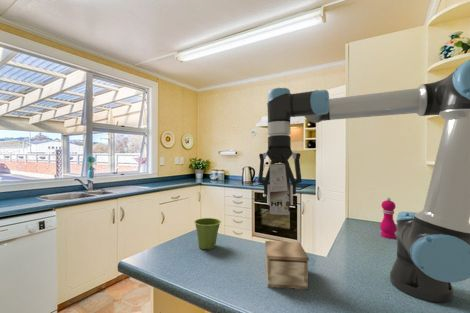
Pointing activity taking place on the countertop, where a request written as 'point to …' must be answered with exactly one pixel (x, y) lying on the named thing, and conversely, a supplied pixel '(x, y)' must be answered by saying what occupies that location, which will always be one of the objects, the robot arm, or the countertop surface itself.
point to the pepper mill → (388, 220)
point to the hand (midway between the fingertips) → (279, 204)
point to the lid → (285, 251)
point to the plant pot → (207, 232)
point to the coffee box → (279, 189)
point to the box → (287, 273)
